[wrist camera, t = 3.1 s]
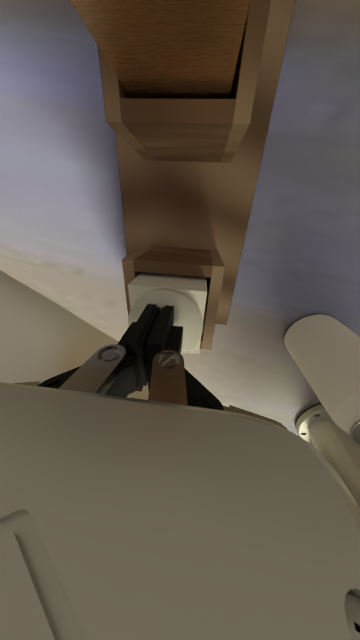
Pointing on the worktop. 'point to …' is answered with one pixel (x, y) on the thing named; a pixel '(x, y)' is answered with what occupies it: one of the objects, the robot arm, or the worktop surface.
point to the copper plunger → (169, 44)
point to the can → (329, 367)
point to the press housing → (197, 166)
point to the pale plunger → (172, 302)
